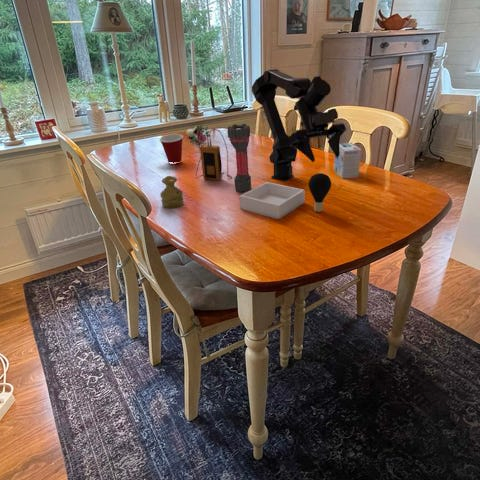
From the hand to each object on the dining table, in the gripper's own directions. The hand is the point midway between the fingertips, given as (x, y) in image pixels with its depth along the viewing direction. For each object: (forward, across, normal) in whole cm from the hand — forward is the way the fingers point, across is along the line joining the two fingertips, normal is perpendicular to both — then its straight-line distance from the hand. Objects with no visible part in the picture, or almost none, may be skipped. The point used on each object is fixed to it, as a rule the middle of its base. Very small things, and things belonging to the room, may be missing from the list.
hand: (326, 158), depth 114 cm
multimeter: (-17, -21, +42) cm, 50 cm away
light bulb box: (0, +23, +22) cm, 32 cm away
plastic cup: (-35, -31, +64) cm, 79 cm away
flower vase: (-54, -10, +87) cm, 103 cm away
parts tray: (+8, -17, +12) cm, 22 cm away
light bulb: (+15, -7, +4) cm, 17 cm away
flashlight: (-4, -19, +27) cm, 33 cm away
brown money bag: (-4, -45, +27) cm, 53 cm away
